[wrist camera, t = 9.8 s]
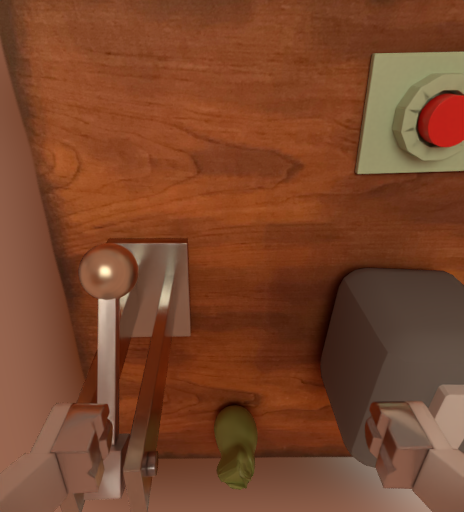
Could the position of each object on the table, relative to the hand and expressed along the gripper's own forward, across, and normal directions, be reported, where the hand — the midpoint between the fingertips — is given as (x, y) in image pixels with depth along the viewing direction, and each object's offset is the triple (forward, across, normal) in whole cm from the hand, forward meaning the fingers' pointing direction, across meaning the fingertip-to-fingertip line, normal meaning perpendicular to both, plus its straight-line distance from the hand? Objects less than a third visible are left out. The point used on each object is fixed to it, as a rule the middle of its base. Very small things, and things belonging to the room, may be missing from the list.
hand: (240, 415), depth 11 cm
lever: (+11, +8, +8) cm, 16 cm away
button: (+25, -18, -6) cm, 31 cm away
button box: (+27, -18, -6) cm, 33 cm away
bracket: (+27, +8, +12) cm, 30 cm away
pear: (+27, -2, +32) cm, 42 cm away
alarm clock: (+27, -17, +17) cm, 37 cm away
